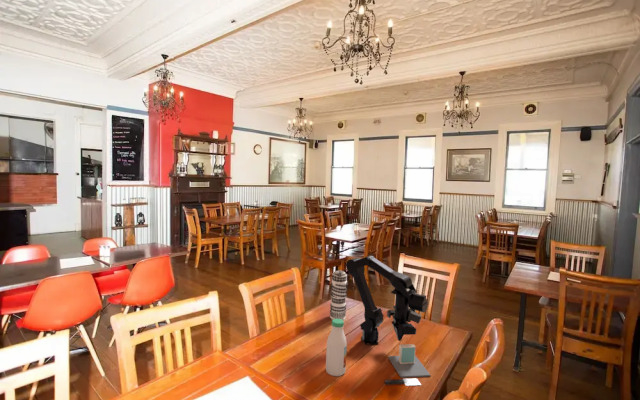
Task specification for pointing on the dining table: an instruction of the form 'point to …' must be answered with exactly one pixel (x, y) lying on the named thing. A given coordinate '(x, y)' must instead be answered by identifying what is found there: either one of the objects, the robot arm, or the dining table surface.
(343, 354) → the milk bottle
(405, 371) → the mat
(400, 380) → the turner
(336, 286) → the decorative candle
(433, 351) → the dining table surface
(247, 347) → the dining table surface
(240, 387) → the dining table surface
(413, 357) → the tile
